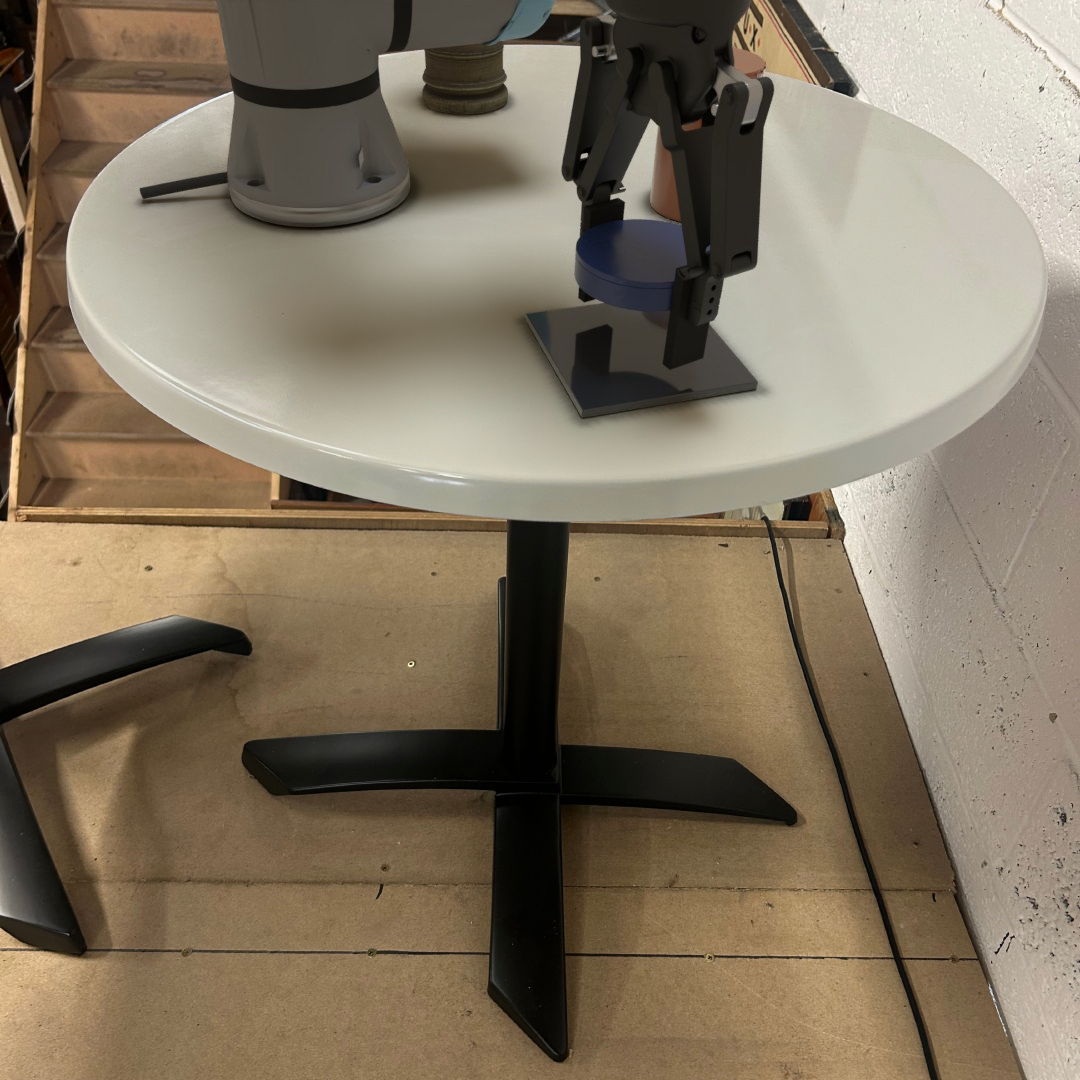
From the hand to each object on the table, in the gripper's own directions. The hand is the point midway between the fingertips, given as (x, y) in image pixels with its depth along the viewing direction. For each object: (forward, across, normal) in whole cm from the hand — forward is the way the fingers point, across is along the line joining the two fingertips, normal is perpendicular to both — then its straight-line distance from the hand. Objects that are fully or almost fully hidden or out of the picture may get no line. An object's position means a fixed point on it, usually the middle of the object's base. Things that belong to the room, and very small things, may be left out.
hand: (638, 326), depth 60 cm
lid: (-5, 0, 0) cm, 5 cm away
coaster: (+2, 0, 0) cm, 2 cm away
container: (+2, +49, -14) cm, 51 cm away
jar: (+2, +16, -19) cm, 25 cm away
